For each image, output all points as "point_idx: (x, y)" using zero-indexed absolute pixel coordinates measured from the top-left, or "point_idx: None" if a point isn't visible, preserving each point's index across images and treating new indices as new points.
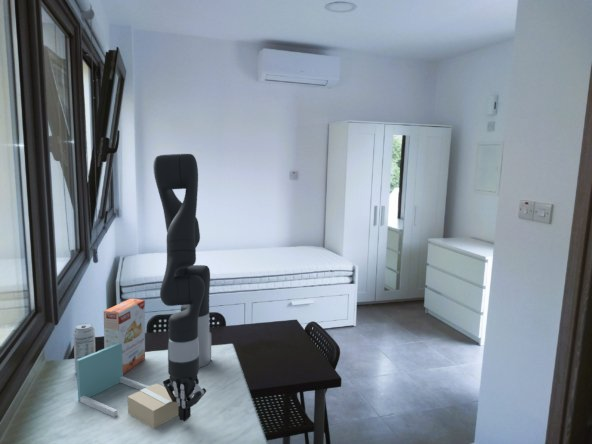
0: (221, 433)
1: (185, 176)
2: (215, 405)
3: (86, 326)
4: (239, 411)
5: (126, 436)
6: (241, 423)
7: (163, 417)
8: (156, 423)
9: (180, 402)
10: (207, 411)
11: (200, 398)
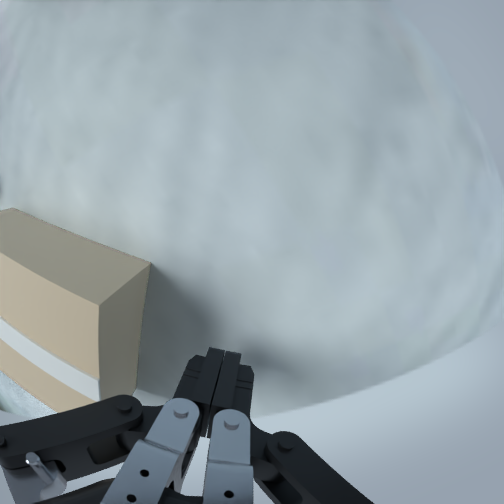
0: (419, 343)
1: None
2: (293, 123)
3: None
4: (446, 149)
5: None
6: (477, 248)
7: (127, 371)
8: (130, 388)
9: (191, 458)
10: (280, 201)
11: (342, 480)
